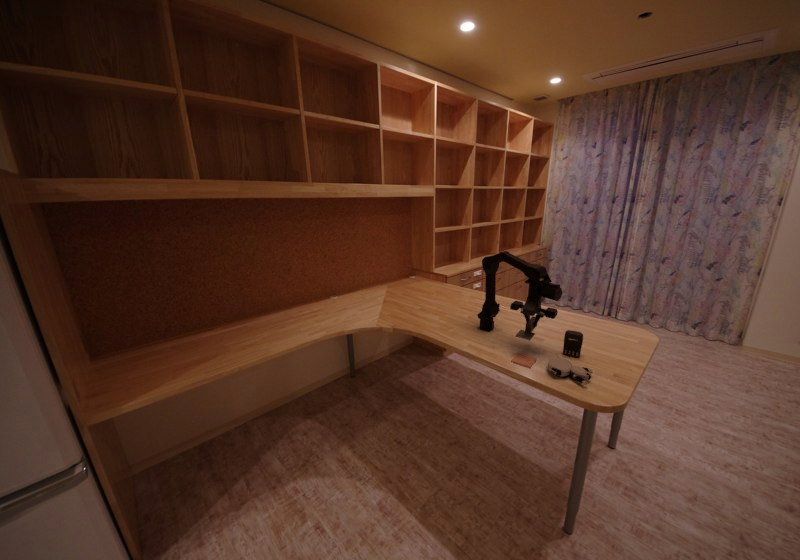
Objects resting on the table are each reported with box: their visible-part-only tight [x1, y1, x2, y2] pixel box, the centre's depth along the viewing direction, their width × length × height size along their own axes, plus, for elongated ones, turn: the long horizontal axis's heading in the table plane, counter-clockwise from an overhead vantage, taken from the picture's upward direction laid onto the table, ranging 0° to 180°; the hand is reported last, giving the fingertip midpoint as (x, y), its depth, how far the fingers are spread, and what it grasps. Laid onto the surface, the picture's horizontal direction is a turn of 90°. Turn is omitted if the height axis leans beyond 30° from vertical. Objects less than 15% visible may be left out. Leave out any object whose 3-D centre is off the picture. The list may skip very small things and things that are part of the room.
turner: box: [515, 315, 538, 342], centre depth 130 cm, size 6×17×4 cm, turn 140°
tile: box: [510, 352, 537, 369], centre depth 125 cm, size 8×1×8 cm
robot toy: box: [545, 354, 594, 386], centre depth 114 cm, size 12×4×15 cm
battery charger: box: [562, 329, 584, 359], centre depth 127 cm, size 7×4×11 cm, turn 57°
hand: (531, 326), depth 133 cm, fingers closed on turner, 2 cm apart
